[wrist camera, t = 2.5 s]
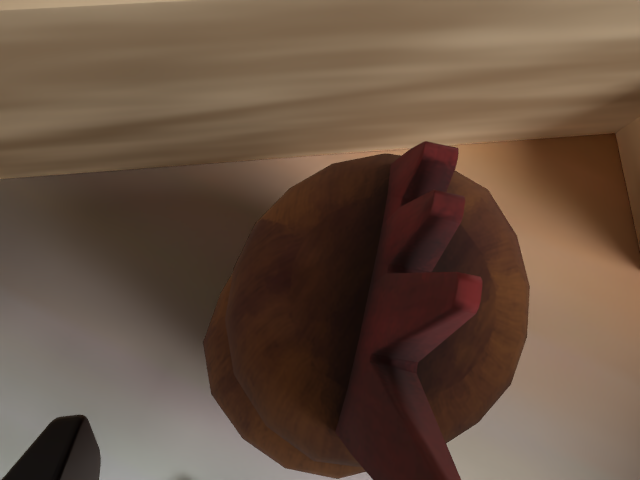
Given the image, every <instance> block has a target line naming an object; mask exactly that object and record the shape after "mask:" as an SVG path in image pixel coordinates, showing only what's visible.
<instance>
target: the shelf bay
mask: <svg viewBox="0 0 640 480" xmlns="http://www.w3.org/2000/svg"><path fill="white" fill-rule="evenodd" d="M609 133H615V134H616V139H617V144H618V148H619V153H620V158H621V163H622V168H623V172H624V177H625V182H626V187H627V192H628V196H629V201H630V206H631V211H632V215H633V220H634V225H635V230H636V235H637V239H638V244H639V249H640V0H0V179H9V178H22V177H35V176H49V175H62V174H75V173H89V172H102V171H115V170H129V169H142V168H155V167H169V166H182V165H195V164H209V163H222V162H235V161H249V160H262V159H275V158H289V157H302V156H315V155H329V154H342V153H355V152H369V151H382V150H395V149H409V148H413V147H415V146H417V145H419V144H420V143H422V142H424V141H428V142H432V143H437V144H441V145H446V146H449V145H462V144H475V143H489V142H502V141H516V140H529V139H542V138H556V137H569V136H582V135H596V134H609Z"/></svg>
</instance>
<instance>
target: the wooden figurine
mask: <svg viewBox="0 0 640 480" xmlns="http://www.w3.org/2000/svg"><path fill="white" fill-rule="evenodd" d="M457 159H458V148H455V147H451V146H446V145H441V144H437V143H432V142H428V141H424V142H422V143H420V144H419V145H417V146H415V147H413V148H411V149H410V150H409V151H407V152H406V153H405V154H403V155H402V156H399V155H393V154H380V155H375V156H370V157H365V158H360V159H355V160H350V161H344V162H339V163H334V164H331V165H330V166H328V167H326V168H324V169H323V170H321V171H319V172H317V173H316V174H314V175H312V176H310V177H309V178H307V179H305V180H303V181H302V182H300V183H298V184H296V185H295V186H293V187H291V188H290V189H289V190H288V191H287V192H286V193H285V194H284V195H283V196H282V197H281V198H280V199H279V200H278V201H277V202H276V203H275V204H274V205H273V206H272V207H271V208H270V209H269V210H268V211H267V212H266V213H265V214H264V215H263V216H262V217H261V218H260V219H259V220H258V221H257V222H256V224H255V226H254V228H253V230H252V232H251V234H250V236H249V238H248V240H247V242H246V244H245V246H244V248H243V250H242V252H241V254H240V256H239V258H238V260H237V262H236V265H235V267H234V270H233V273H232V275H231V277H230V278H229V280H228V282H227V283H226V285H225V287H224V288H223V290H222V292H221V294H220V297H219V299H218V302H217V305H216V308H215V311H214V313H213V316H212V319H211V322H210V325H209V327H208V330H207V333H206V336H205V339H204V341H203V345H204V351H205V357H206V364H207V370H208V376H209V383H210V389H211V394H212V396H213V397H214V399H215V400H216V401H217V403H218V404H219V406H220V407H221V408H222V410H223V411H224V413H225V414H226V416H227V417H228V418H229V420H230V421H231V423H232V424H233V425H234V427H235V428H236V430H237V431H238V433H239V434H240V435H241V437H242V438H243V439H244V440H246V441H247V442H249V443H250V444H252V445H253V446H254V447H256V448H257V449H259V450H260V451H262V452H263V453H264V454H266V455H267V456H269V457H270V458H272V459H273V460H274V461H276V462H277V463H279V464H280V465H281V466H283V467H284V468H287V469H292V470H297V471H302V472H307V473H312V474H316V475H321V476H326V477H331V478H336V479H339V478H342V477H346V476H350V475H354V474H358V473H362V472H367V473H368V474H369V475H370V476H371V478H372V479H373V480H461V478H460V476H459V474H458V471H457V469H456V467H455V464H454V462H453V459H452V457H451V455H450V452H449V450H448V447H447V445H446V443H447V442H449V441H450V440H452V439H454V438H455V437H457V436H458V435H460V434H461V433H463V432H464V431H466V430H467V429H469V428H471V427H472V426H474V425H475V424H477V423H478V422H479V421H480V420H481V419H482V417H483V416H484V415H485V414H486V413H487V412H488V410H489V409H490V408H491V407H492V406H493V405H494V403H495V402H496V401H497V400H498V399H499V398H500V396H501V395H502V394H503V393H504V392H505V390H506V389H507V388H508V387H509V386H510V385H511V382H512V379H513V376H514V373H515V370H516V367H517V364H518V361H519V358H520V356H521V353H522V350H523V347H524V344H525V341H526V338H527V324H528V306H529V289H530V286H529V282H528V278H527V274H526V270H525V266H524V263H523V259H522V255H521V251H520V247H519V243H518V239H517V235H516V234H515V232H514V231H513V229H512V227H511V226H510V224H509V223H508V221H507V219H506V218H505V216H504V215H503V213H502V211H501V210H500V208H499V207H498V205H497V203H496V202H495V200H494V199H493V197H492V195H491V194H490V192H489V191H488V189H486V188H484V187H482V186H481V185H479V184H477V183H475V182H474V181H472V180H470V179H468V178H467V177H465V176H463V175H461V174H460V173H458V172H456V171H455V167H456V164H457Z"/></svg>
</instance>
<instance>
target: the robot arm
mask: <svg viewBox="0 0 640 480" xmlns="http://www.w3.org/2000/svg"><path fill="white" fill-rule="evenodd" d="M100 464H101V457H100V450H99V447H98V444H97V442H96V439H95V436H94V434H93V431H92V429H91V426H90V424H89V421H88V419H87V418H86V417H85V416H84V415H72V416H63V417H58V418H56V419H54V420H53V421H52V422H51V423H50V424H49V425H48V426H47V427H46V429H45V430H44V431H43V432H42V433H41V434H40V436H39V437H38V438H37V439H36V440H35V441H34V443H33V444H32V445H31V446H30V447H29V448H28V450H27V451H26V452H25V453H24V454H23V455H22V457H21V458H20V459H19V460H18V461H17V462H16V464H15V465H14V466H13V467H12V468H11V469H10V471H9V472H8V473H7V474H6V475H5V476H4V478H3V479H2V480H99V475H100Z"/></svg>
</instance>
